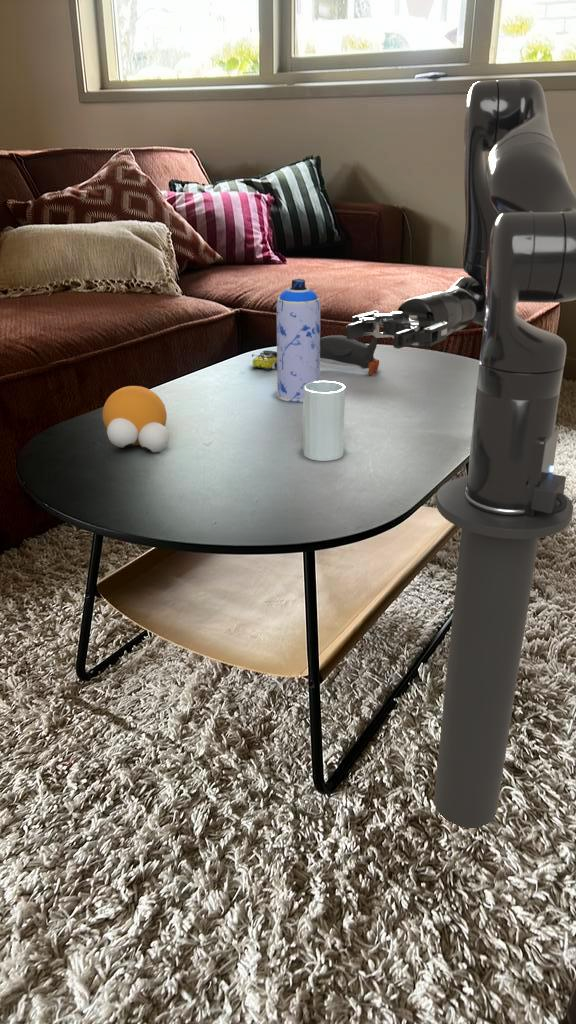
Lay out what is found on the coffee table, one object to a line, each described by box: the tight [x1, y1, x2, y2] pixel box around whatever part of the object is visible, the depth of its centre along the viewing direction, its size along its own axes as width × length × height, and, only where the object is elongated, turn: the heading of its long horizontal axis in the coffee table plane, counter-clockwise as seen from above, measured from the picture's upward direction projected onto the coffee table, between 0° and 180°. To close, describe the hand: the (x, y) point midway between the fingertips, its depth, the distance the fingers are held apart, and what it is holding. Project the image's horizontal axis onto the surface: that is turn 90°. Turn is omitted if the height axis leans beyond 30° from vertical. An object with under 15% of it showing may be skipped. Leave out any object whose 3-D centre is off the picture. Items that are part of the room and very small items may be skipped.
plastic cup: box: [302, 380, 346, 462], centre depth 109 cm, size 6×6×10 cm
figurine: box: [320, 334, 380, 376], centre depth 150 cm, size 7×10×15 cm
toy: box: [102, 385, 170, 453], centre depth 114 cm, size 9×10×15 cm
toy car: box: [251, 350, 277, 371], centre depth 155 cm, size 5×10×3 cm, turn 155°
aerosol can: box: [275, 278, 321, 403], centre depth 132 cm, size 8×8×20 cm
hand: (371, 336), depth 112 cm, fingers open, 8 cm apart
